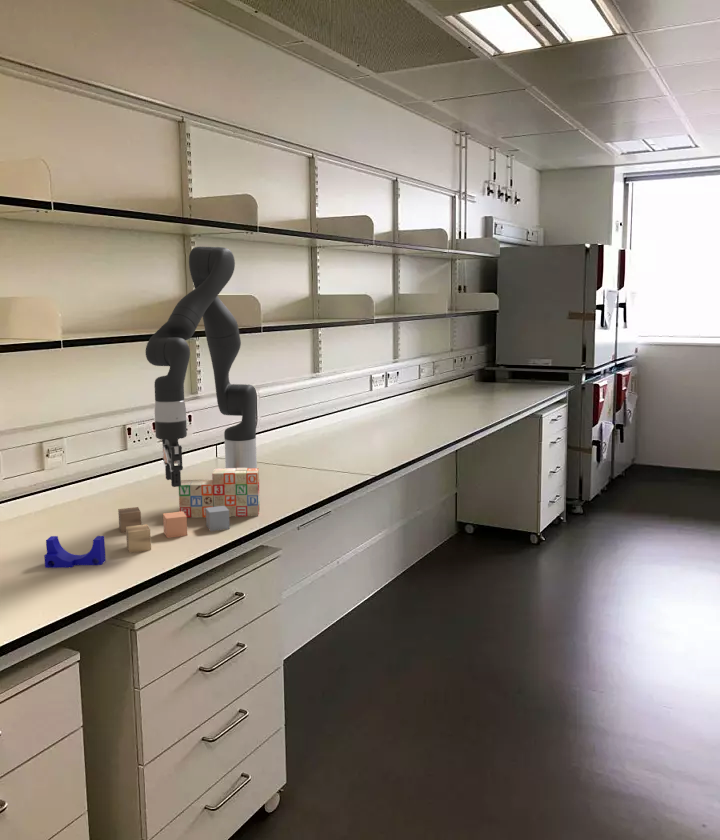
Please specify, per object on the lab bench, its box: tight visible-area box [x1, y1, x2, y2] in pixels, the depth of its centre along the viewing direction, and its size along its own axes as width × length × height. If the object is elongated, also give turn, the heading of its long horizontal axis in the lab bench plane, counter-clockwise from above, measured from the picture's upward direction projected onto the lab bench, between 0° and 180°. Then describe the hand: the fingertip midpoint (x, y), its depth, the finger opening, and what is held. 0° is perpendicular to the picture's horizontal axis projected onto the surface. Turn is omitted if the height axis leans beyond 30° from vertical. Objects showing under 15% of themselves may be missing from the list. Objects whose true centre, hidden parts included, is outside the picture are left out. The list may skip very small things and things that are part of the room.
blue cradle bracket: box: [43, 535, 107, 569], centre depth 178 cm, size 12×4×6 cm, turn 90°
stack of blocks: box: [178, 467, 261, 519], centre depth 217 cm, size 21×6×12 cm, turn 94°
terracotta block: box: [162, 511, 188, 539], centre depth 200 cm, size 5×5×5 cm
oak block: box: [125, 523, 152, 554], centre depth 189 cm, size 5×5×5 cm
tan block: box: [117, 506, 142, 534], centre depth 204 cm, size 5×5×5 cm
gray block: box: [205, 506, 231, 532], centre depth 205 cm, size 5×5×5 cm
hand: (173, 482), depth 198 cm, fingers open, 8 cm apart
